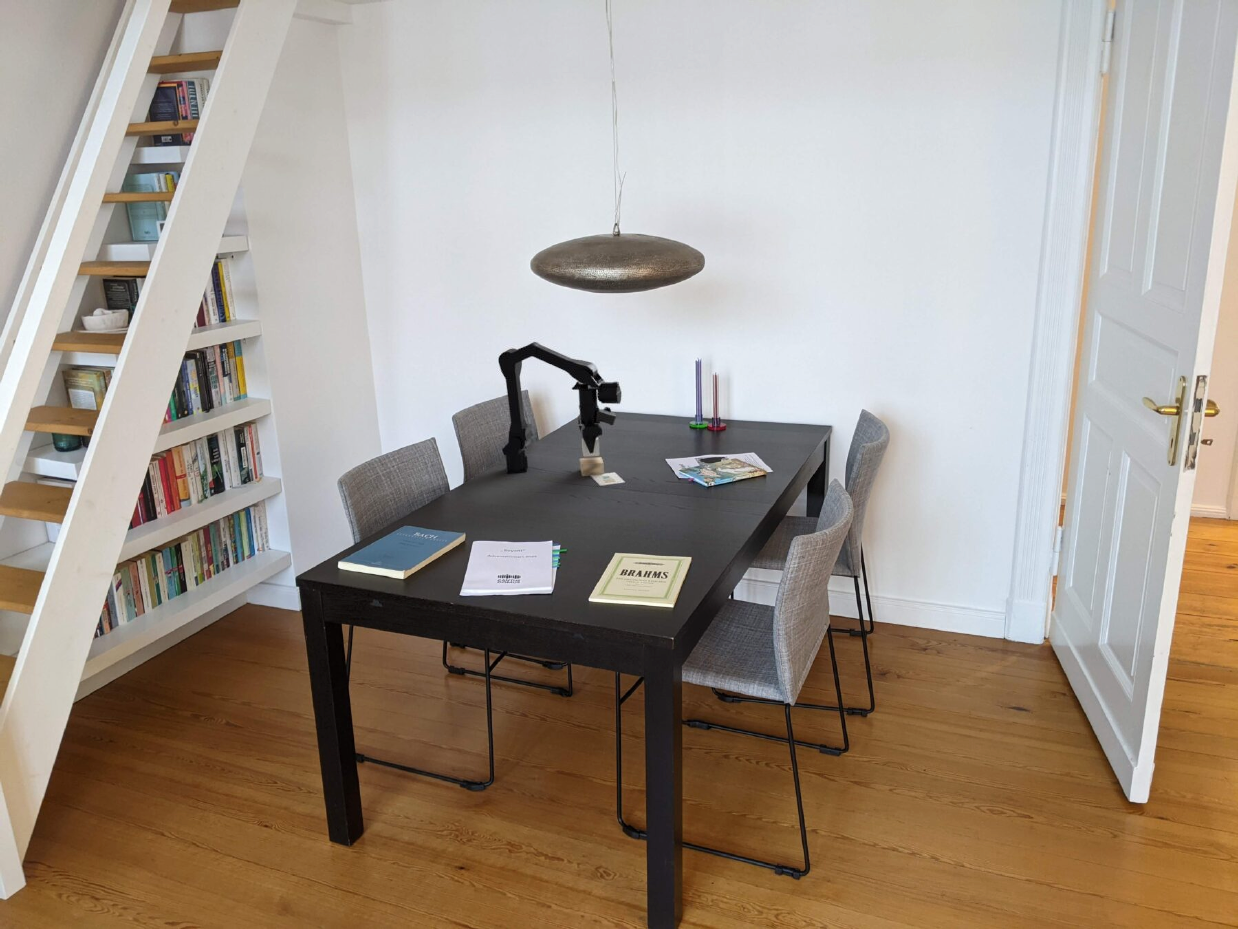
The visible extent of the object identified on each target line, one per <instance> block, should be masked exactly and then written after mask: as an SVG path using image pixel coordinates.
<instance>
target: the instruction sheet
mask: <svg viewBox="0 0 1238 929" xmlns="http://www.w3.org/2000/svg"><path fill="white" fill-rule="evenodd" d="M590 477H591V478H592V480H594V481H595V482H596V483H597V484H598V486H600V487H603V486H609V485H611V486H612V485H619V484H624V483H626V481H625V480H623V478H622V477H620V475H618V474H617V473H616V472H607V473H606V472H605V473H604V474H599V475H590Z"/></svg>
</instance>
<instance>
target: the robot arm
mask: <svg viewBox="0 0 1238 929" xmlns="http://www.w3.org/2000/svg"><path fill="white" fill-rule="evenodd" d="M532 357H533V358H535V359H537V360H540V361H542V362H544V363H547V364H549V365H551V366H553V367H555V368H558V369H560V370H562V371H563V372H566V373H568V374H569V376H570V377H572V379H575V380H576V382H575V385H573V386H572V388H571V390H575V391H578V402H579V403H578V404H579V405H578V409H579V415H577V425H578V429H579V430H580V433H581V436H582V437H583V439H584V441H585V443H586V446H587V448H588V450H589V452H590V453H593V452H594V446H595V441H596V438H597V437H598V438H599V437H600V436H602V435H603V428H602V426H601V425H600V424H601V422H602V423H605V424H608V425H610V426H614V424H615V421H616V418H617V415H616V413H615V412H613V411H612V409H611V407H609V406H604V408H600V407H599V405H598V402H600V404H609V405H610V404H612V405H613V404H615V405H617V404H618V405H620V404H621V401H622V389H621V386H620V382H619V381H609V382H608V381H605V379H604V378H603V377H602V375H601V374H600V372H598V368H597V365H596V364H595V363H593V362H591V361H588V360H583V359H576V358H571V357H569V356H567V355H564V354H562V353H560V352H558V351H556V350H554V349H551V348H549V347H546V346H544V345H542V344H540V343H539V342H538V341H537V342H536V341H533V342H531V343H529V344H527V345H525V346H523V347H520V348H513V347H511V348H509V349H507V350H505V351H503V352H502V353H501V354H500V355H499V356H498V365H499V368H500V371H501V374H502V376H503V377H504V379H505V385H506V393H507V401H508V410H509V417H510V418H509V419H510V426H509V429H508V440H507V441H508V443H507V444H506V445H504V447H503V448H502V449H501V452H502V453H503V455H504V456H505V462H506V467H505V468H506V474H515V473H526V472H527V471H528V468H529V463H528V455H527V454H526V451H525V450H526V449H527V446H528V444H530V443H531V441H532V437H533V436H534V434H533V431H532V430H533V429H532V427H533V425H532V424H531V423H530V424H528V423H527V421H526V419H525V410H524V404H523V403H524V402H523V393H522V386H521V373H522V368H523V367H522V366H523V361H524V360H527V359H529V358H532ZM582 437H581V438H582Z"/></svg>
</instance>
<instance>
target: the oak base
mask: <svg viewBox="0 0 1238 929" xmlns="http://www.w3.org/2000/svg"><path fill="white" fill-rule="evenodd" d="M604 465H605V464H604V461H603V458H602V457H601V456H600V457H599V456H598V457H597V456H596V457H585V458H579V468H580V469H579V470H580V474H581V476H582V477H589V476H590V477H591V475H599V474H605V467H604Z"/></svg>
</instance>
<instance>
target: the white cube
mask: <svg viewBox="0 0 1238 929" xmlns="http://www.w3.org/2000/svg"><path fill="white" fill-rule="evenodd" d="M581 448H582V450H581V451H582V452H581V453H582V455H583V457H585V458H586V457H595V456H596V457H597V456H598V457H599V456H600V440H599V436H598V437H597V438H596V441H595V446H594V452H593V453H590V452H589V450H588V448H587V446H586V443H585V441H584V439H583V437H581Z"/></svg>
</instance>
